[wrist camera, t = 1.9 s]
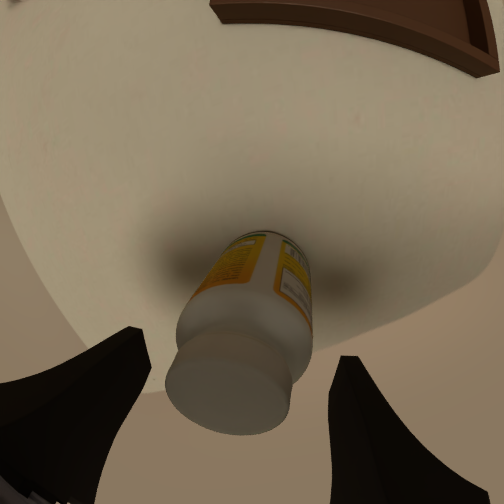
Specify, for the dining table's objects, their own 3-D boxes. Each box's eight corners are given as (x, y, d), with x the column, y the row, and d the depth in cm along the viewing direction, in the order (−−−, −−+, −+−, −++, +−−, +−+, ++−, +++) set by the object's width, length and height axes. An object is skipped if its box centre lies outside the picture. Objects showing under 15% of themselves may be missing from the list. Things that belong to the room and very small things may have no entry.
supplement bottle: (322, 245, 15) (346, 372, 6) (292, 320, 17) (281, 456, 8) (229, 217, 16) (145, 312, 7) (211, 296, 18) (146, 415, 9)
